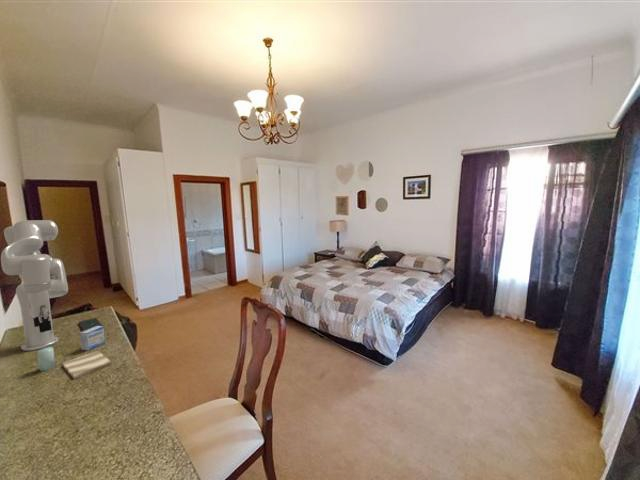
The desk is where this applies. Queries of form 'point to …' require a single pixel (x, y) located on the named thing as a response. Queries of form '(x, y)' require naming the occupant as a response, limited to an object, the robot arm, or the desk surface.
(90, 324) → the smart home device
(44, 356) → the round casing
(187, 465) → the desk surface
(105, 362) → the birch board
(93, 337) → the medicine box
